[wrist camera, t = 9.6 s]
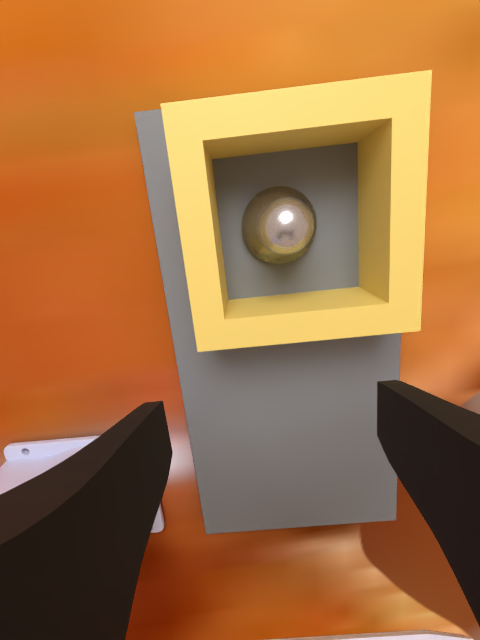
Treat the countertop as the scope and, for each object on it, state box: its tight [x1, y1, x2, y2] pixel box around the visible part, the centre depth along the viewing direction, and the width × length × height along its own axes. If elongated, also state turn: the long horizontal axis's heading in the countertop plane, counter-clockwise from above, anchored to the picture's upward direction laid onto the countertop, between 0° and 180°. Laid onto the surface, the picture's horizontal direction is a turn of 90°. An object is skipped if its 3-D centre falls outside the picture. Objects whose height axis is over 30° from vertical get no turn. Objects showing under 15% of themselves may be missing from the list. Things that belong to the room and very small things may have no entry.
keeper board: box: [134, 109, 401, 534], centre depth 20 cm, size 13×26×1 cm, turn 6°
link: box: [161, 70, 432, 352], centre depth 16 cm, size 10×10×4 cm
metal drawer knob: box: [242, 186, 317, 264], centre depth 15 cm, size 4×4×4 cm
